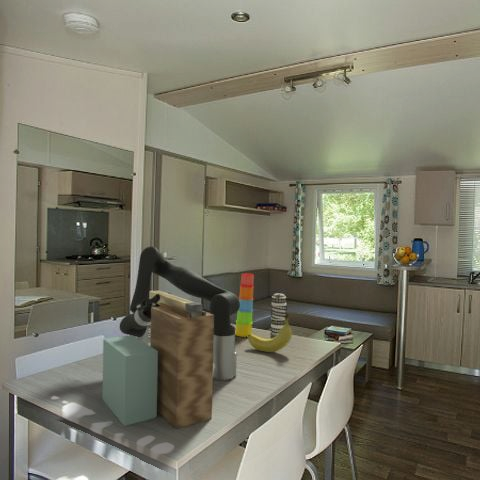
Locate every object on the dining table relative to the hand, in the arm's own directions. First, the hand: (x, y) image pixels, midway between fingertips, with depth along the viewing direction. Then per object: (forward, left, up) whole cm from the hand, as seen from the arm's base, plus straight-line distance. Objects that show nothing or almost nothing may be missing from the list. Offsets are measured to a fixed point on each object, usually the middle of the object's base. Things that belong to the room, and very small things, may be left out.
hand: (164, 295), depth 136 cm
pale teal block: (+13, +3, -35) cm, 37 cm away
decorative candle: (-83, -35, -35) cm, 97 cm away
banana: (-65, -21, -35) cm, 77 cm away
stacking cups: (-73, -53, -35) cm, 97 cm away
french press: (-20, -65, -35) cm, 77 cm away
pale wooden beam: (0, +7, -3) cm, 8 cm away
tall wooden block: (0, +13, -35) cm, 37 cm away
